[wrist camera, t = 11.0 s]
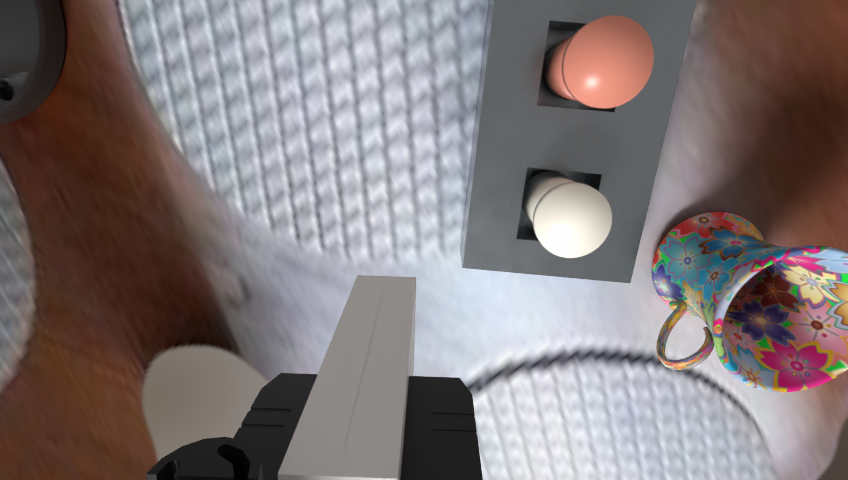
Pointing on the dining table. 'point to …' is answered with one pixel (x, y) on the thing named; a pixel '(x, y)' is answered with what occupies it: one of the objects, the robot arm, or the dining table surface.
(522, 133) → the plug board
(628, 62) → the plug red
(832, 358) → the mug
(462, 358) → the dining table surface
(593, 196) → the cream plug
